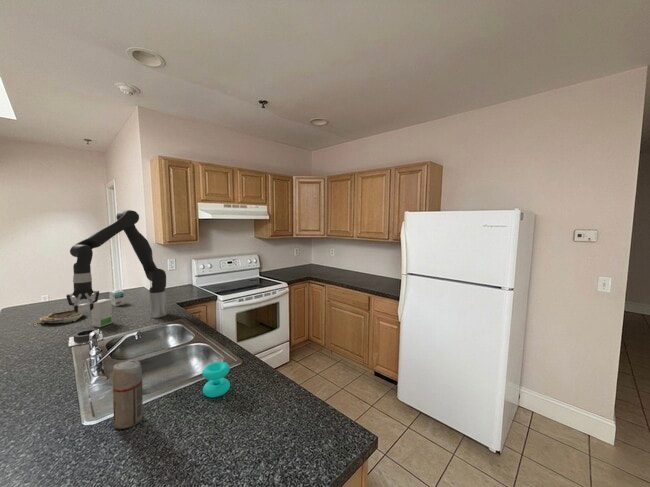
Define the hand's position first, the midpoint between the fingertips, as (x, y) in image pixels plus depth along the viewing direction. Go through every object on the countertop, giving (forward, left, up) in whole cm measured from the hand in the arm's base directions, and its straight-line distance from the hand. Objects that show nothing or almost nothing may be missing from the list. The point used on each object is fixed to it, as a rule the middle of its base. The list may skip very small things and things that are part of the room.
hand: (84, 310), depth 150 cm
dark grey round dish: (0, 0, -16) cm, 16 cm away
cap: (0, 0, -1) cm, 1 cm away
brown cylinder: (-10, +91, -16) cm, 93 cm away
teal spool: (-38, +94, -16) cm, 103 cm away
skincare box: (-8, -21, -16) cm, 28 cm away
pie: (+10, -47, -17) cm, 51 cm away
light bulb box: (-19, -66, -16) cm, 71 cm away
